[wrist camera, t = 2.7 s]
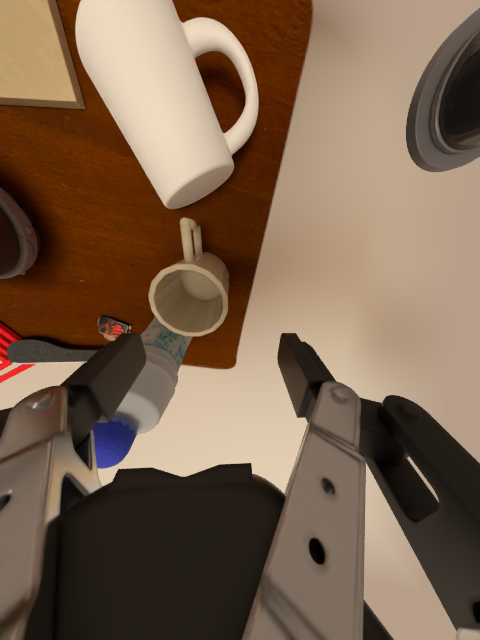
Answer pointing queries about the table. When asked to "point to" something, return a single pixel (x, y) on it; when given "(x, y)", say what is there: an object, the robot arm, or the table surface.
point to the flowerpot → (16, 238)
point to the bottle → (143, 395)
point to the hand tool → (44, 353)
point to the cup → (191, 288)
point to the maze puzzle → (3, 338)
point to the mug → (165, 91)
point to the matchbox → (111, 328)
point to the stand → (36, 57)
